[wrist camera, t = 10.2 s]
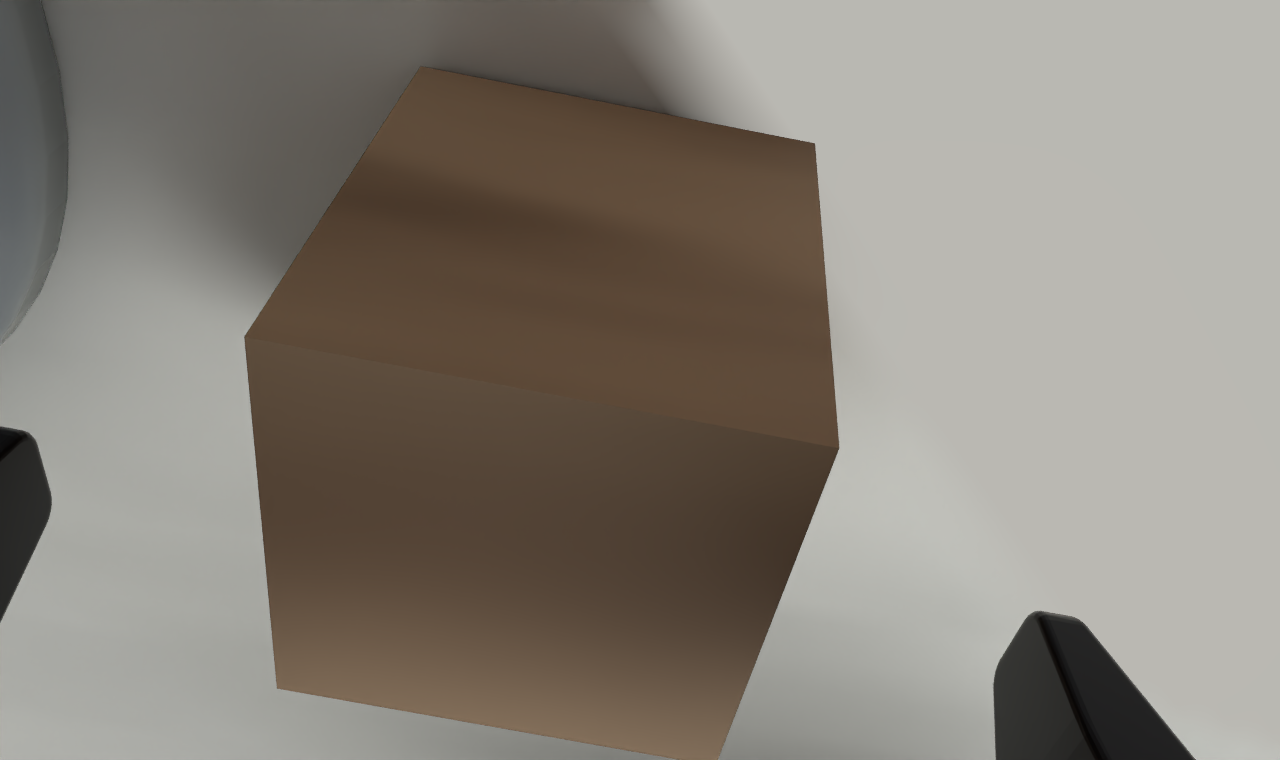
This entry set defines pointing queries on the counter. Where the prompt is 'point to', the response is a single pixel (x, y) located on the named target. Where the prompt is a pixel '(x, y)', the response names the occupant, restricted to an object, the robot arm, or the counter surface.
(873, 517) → the counter surface
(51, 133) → the slate dish
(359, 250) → the walnut block
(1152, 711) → the robot arm
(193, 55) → the counter surface
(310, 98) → the counter surface
